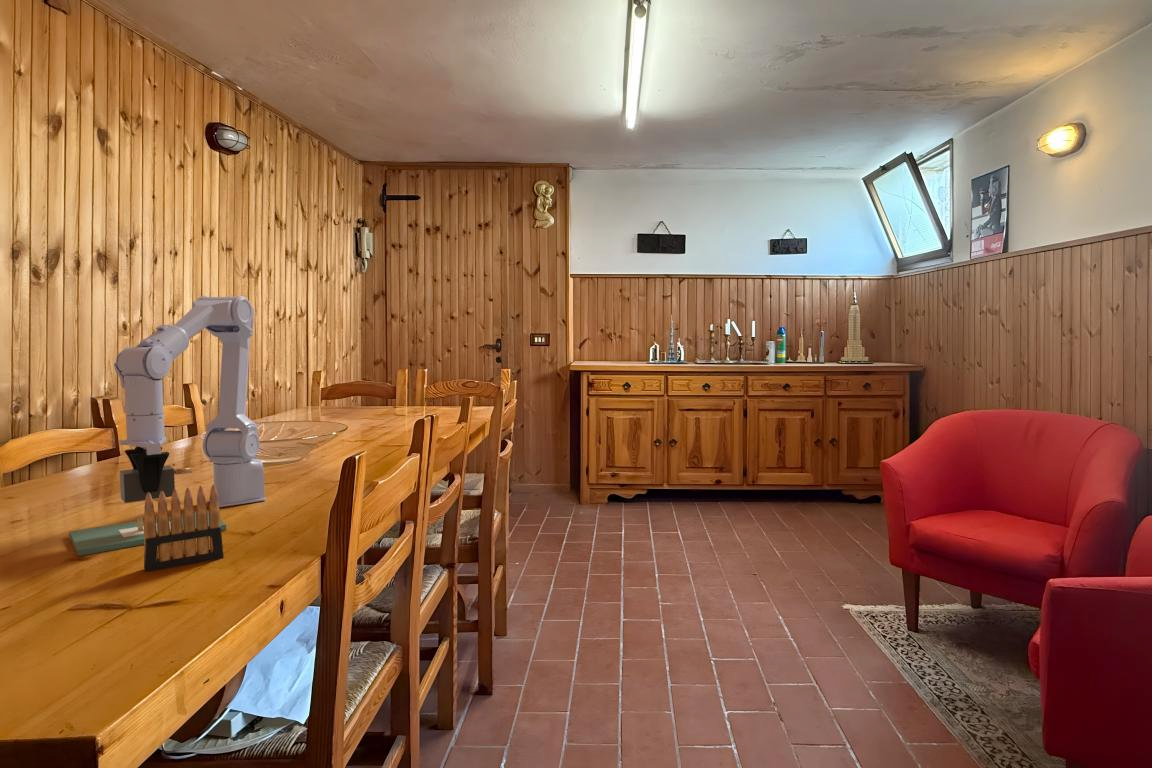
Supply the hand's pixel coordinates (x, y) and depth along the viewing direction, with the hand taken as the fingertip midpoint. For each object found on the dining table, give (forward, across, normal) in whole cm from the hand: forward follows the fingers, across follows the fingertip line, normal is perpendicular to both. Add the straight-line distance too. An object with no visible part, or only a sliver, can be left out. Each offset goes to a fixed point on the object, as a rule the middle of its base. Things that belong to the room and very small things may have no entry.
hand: (148, 489), depth 120 cm
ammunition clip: (+8, +21, +1) cm, 23 cm away
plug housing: (+1, 0, +2) cm, 2 cm away
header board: (+8, -1, 0) cm, 8 cm away
